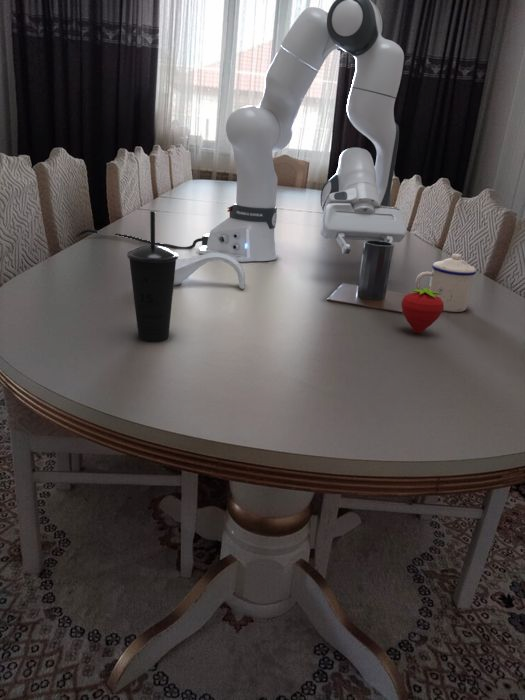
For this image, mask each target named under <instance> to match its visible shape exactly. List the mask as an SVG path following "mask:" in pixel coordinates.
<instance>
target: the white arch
mask: <svg viewBox="0 0 525 700" xmlns="http://www.w3.org/2000/svg"><path fill="white" fill-rule="evenodd" d="M214 261H220V262H223V263H226V264H228V265H229V266H231V267H232V268H233V269H234V270H235V272H236V274H237V278H238V285H239V288H240V289H241V290H244V289H245V287H246V275H245V271H244V268H243V266H242V265H241V264H240V262H239V261H236V260H235V259H234V258H232V257H230V256H228V255H225V254H222V253H208V254H200V255H195V256H192V257H187V258H186V257H185V258H178V259H177V260H176V266H175V276H174V286H178V285H180V284H183V282H184V281H185V280H187V279H188V278H189V277H190V276H192V274H193V273H194V272H196V271H197V270H199V268H201V267H202V266H204V265H206V264H207V263H209V262H214Z"/></svg>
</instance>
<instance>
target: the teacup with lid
mask: <svg viewBox="0 0 525 700" xmlns="http://www.w3.org/2000/svg"><path fill="white" fill-rule="evenodd" d="M462 257H463V256H462V254H460V253H453V254H451V257H447V258H445V259H443V260H439V261H435V262H433V264H432V265H431V268H432V271H423V272H420V273H419V274H418V275H417V276H416V279H415V286H416V289H419V290H423V288H421V285H420V280H421V279H422V278H423V277H424V276H430V279H429V280H430V281H429V285H430V289H429V288H428V289H429V290H431V291H433V292H437V293H440V294H441V295H437V294H434V295H435V296H437V297H439V298H441V300H442V301H443V306H444V309H443V311H442V312H447V313H461V312H464V311H466V310H467V308H468V303H469V299H470V295H471V291H472V286H473V283H474V279H475V278H474V277H475V275H476V274H477V269H476V267H474V266H473V265H470V264H469V263H468V262H467V261H466V260H464V259H462ZM423 291H424V290H423Z"/></svg>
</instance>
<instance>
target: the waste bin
mask: <svg viewBox="0 0 525 700" xmlns="http://www.w3.org/2000/svg"><path fill="white" fill-rule="evenodd" d="M394 250H395V244H394V243H393V242H392V243H389V242H384V241H375V240H368V241H367V240H363V247H362V254H361V260H360V267H359V274H358V281H357V286H358V287H357V296H358V297H360V298H363V299H367V300H384V299H385V297H386V292H387V290H388V287H389V286H388V285H389V280H390V273H391V268H392V263H393V262H392V261H393V257H394V256H393V255H394Z"/></svg>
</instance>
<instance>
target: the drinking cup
mask: <svg viewBox="0 0 525 700" xmlns="http://www.w3.org/2000/svg"><path fill="white" fill-rule="evenodd" d="M149 213H150V215H149V216H150V222H149V223H150V225H149V226H150V227H149V228H150V241H151V244H148V245H142V246H139V247H137V248H134V249H132V250H130V251H128V252H127V253H126V256H127V258H128V260H129V267H130V275H131V283H132V284H131V285H132V292H133V303H134V310H135V318H136V328H137V335H138V338H139V340H141V341H143V342H149V343H157V342H164V341H166V340H168V339H169V335H170V325H171V315H172V306H173V305H172V304H173V296H174V286H175V285H174V276H175V266H176V260H177V259H179V254H178V253H177V252H174V251H172V250H171V249H169V248H168V247H163V246H157V245H155V242H156V211H150V212H149Z"/></svg>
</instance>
